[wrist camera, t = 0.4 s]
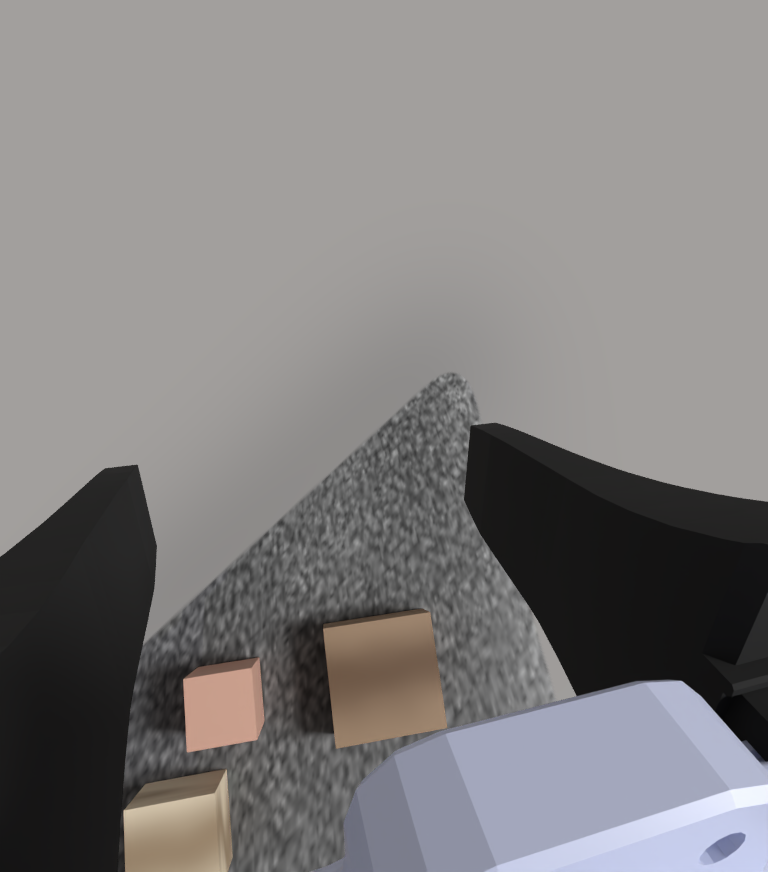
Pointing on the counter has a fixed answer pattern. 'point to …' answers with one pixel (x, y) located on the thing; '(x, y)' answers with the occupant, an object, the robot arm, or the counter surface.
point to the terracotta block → (223, 704)
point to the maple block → (179, 825)
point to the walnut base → (383, 677)
